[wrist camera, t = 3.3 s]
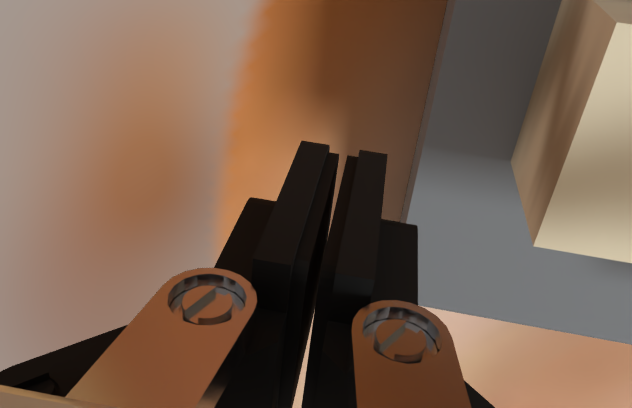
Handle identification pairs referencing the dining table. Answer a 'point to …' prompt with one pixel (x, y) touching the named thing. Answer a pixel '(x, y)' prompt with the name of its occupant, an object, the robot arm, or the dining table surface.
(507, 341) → the dining table surface
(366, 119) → the dining table surface
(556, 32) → the birch block
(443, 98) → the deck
